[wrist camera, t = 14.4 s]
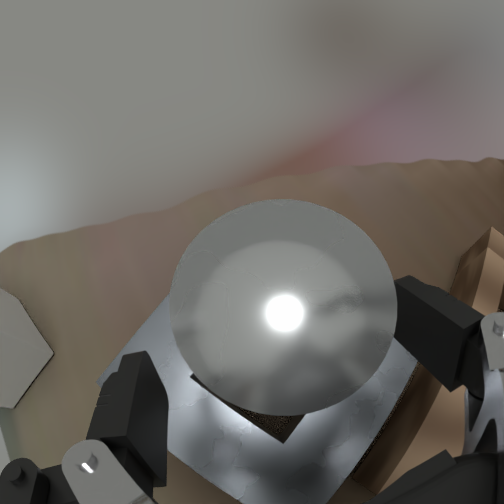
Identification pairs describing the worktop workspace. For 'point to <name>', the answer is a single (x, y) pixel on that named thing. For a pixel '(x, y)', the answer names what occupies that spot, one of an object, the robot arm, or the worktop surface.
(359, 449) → the holder
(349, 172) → the worktop surface
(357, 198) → the worktop surface
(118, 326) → the worktop surface
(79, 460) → the robot arm
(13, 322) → the milk carton
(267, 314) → the axle
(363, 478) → the wooden block with hole
